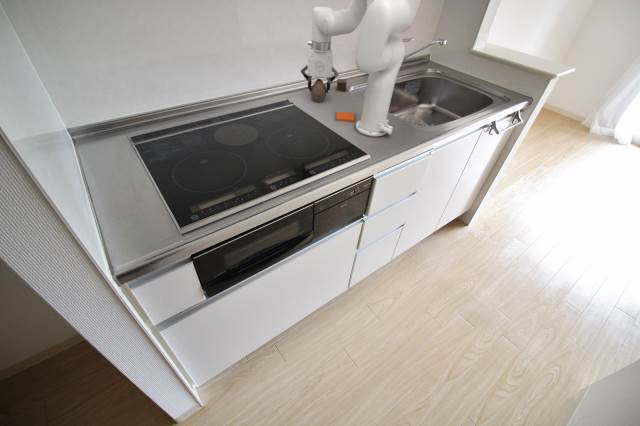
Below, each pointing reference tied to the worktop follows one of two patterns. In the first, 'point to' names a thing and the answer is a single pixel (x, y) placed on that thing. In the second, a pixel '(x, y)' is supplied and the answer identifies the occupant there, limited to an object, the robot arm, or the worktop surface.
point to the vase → (318, 91)
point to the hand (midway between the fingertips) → (318, 90)
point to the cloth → (345, 116)
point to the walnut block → (341, 84)
